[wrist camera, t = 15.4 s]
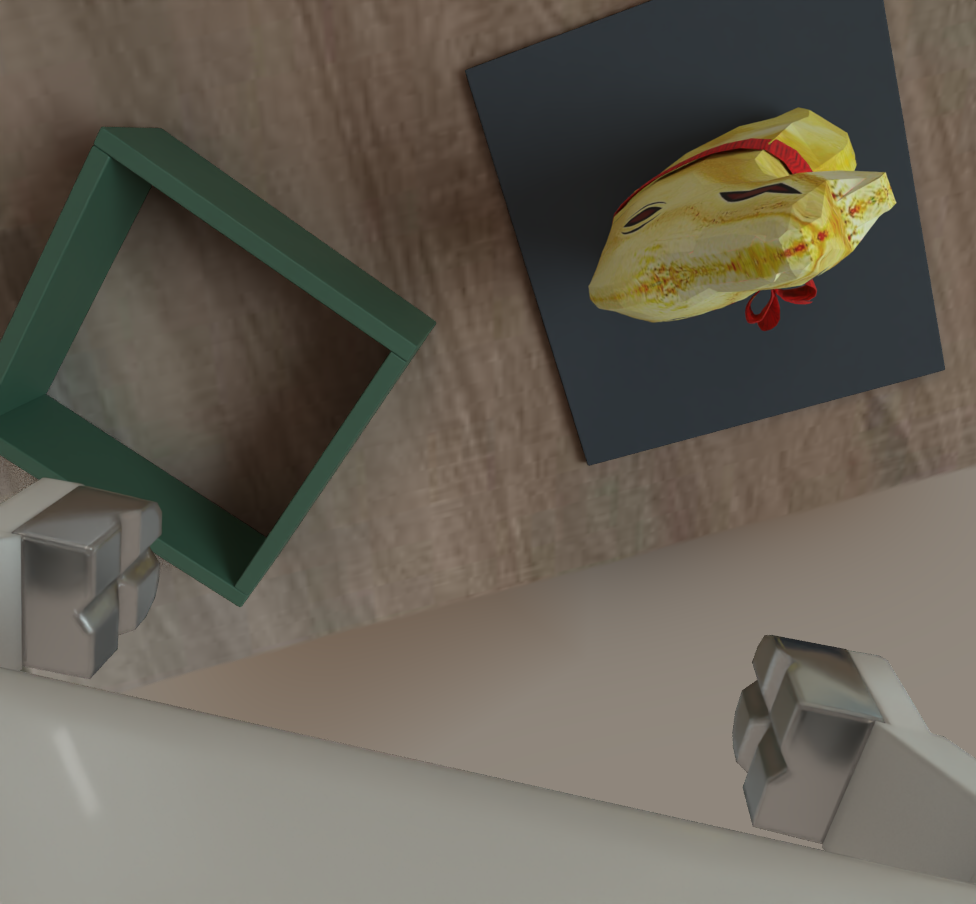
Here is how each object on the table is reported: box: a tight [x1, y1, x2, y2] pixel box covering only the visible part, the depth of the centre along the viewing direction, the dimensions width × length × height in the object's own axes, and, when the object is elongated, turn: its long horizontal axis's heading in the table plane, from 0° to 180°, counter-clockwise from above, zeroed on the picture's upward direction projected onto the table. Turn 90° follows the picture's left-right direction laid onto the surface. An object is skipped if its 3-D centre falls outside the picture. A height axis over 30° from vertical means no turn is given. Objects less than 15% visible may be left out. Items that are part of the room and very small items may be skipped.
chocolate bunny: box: [589, 107, 896, 331], centre depth 29 cm, size 7×11×15 cm, turn 117°
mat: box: [465, 0, 945, 466], centre depth 36 cm, size 18×16×1 cm
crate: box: [0, 127, 436, 607], centre depth 38 cm, size 15×15×5 cm
